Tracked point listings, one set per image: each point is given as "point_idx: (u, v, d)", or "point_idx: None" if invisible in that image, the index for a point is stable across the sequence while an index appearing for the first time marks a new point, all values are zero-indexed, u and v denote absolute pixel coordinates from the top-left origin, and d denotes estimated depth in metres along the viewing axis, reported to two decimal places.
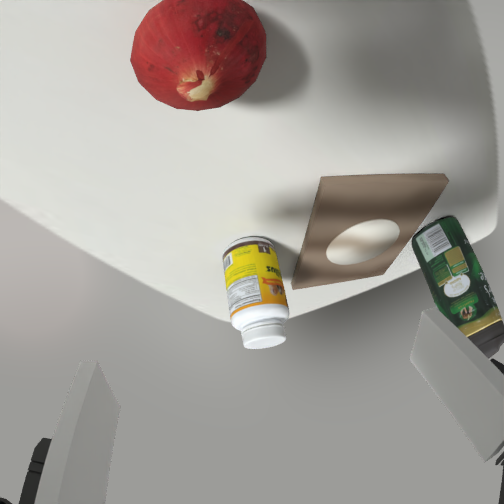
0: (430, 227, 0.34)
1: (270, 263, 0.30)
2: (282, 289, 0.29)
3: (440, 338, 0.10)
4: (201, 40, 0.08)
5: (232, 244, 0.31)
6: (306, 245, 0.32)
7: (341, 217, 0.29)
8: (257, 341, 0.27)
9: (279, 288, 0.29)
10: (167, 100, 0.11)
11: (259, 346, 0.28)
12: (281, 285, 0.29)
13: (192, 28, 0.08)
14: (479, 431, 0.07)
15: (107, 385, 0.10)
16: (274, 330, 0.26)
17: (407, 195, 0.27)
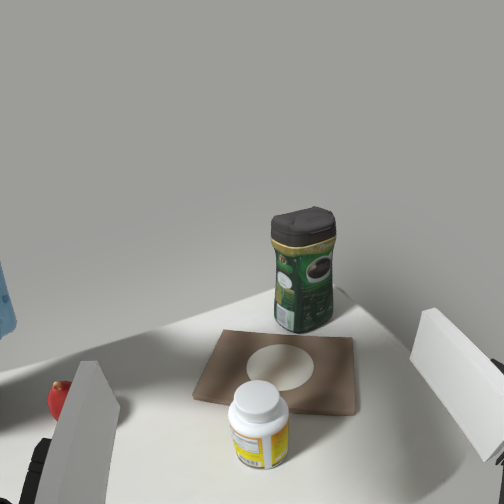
0: (281, 325, 0.49)
1: None
2: None
3: (440, 338, 0.10)
4: (53, 385, 0.29)
5: None
6: None
7: (233, 385, 0.37)
8: (242, 400, 0.24)
9: None
10: (62, 402, 0.27)
11: (266, 401, 0.24)
12: None
13: (51, 388, 0.29)
14: (479, 431, 0.07)
15: (107, 385, 0.10)
16: None
17: (227, 350, 0.44)
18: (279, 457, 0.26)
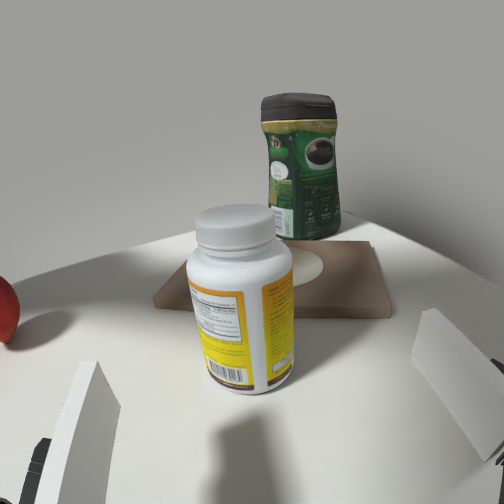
0: (278, 234, 0.39)
1: None
2: None
3: (439, 338, 0.10)
4: None
5: (210, 375, 0.18)
6: None
7: None
8: (208, 218, 0.15)
9: None
10: None
11: (249, 215, 0.15)
12: None
13: None
14: (479, 431, 0.07)
15: (107, 385, 0.10)
16: None
17: None
18: (280, 365, 0.16)
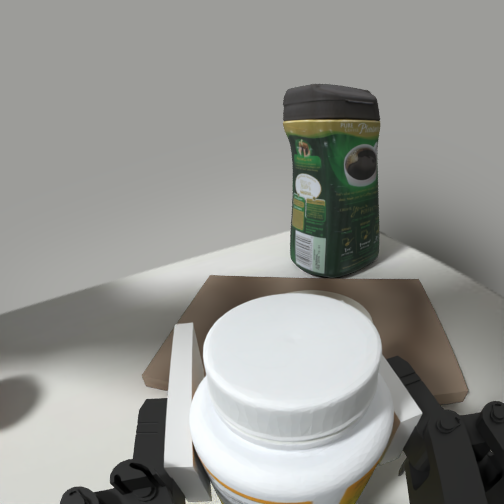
0: (303, 267, 0.31)
1: None
2: None
3: None
4: None
5: None
6: None
7: None
8: (235, 356, 0.06)
9: None
10: None
11: (334, 353, 0.06)
12: None
13: None
14: None
15: (197, 347, 0.12)
16: None
17: (214, 301, 0.26)
18: None
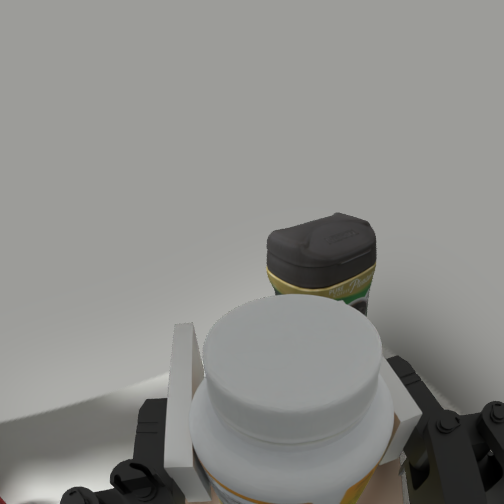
0: None
1: None
2: None
3: None
4: None
5: None
6: None
7: None
8: (235, 358, 0.06)
9: None
10: None
11: (334, 355, 0.06)
12: None
13: None
14: None
15: (197, 347, 0.12)
16: None
17: None
18: None
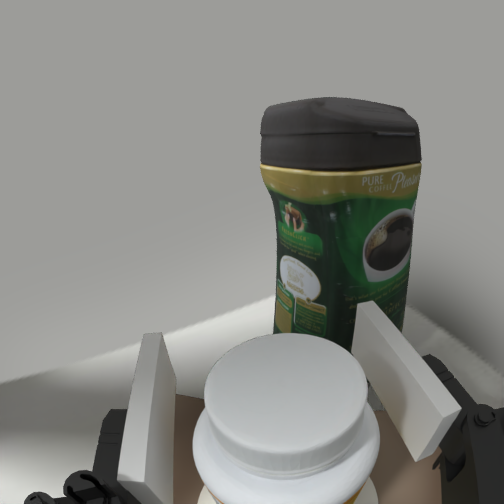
0: None
1: None
2: None
3: (371, 331, 0.11)
4: None
5: None
6: None
7: None
8: (233, 401, 0.06)
9: None
10: None
11: (323, 399, 0.06)
12: None
13: None
14: (409, 428, 0.08)
15: (168, 357, 0.12)
16: None
17: None
18: None
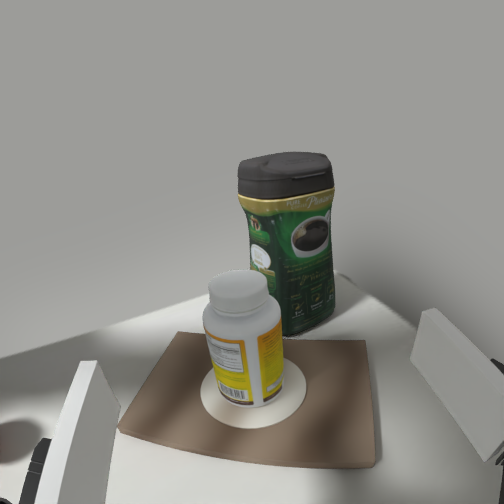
0: None
1: None
2: None
3: (439, 338, 0.10)
4: None
5: None
6: (222, 453, 0.19)
7: (177, 415, 0.22)
8: (218, 286, 0.20)
9: None
10: None
11: (248, 285, 0.20)
12: None
13: None
14: (479, 431, 0.07)
15: (107, 385, 0.10)
16: None
17: (178, 360, 0.29)
18: (272, 386, 0.22)
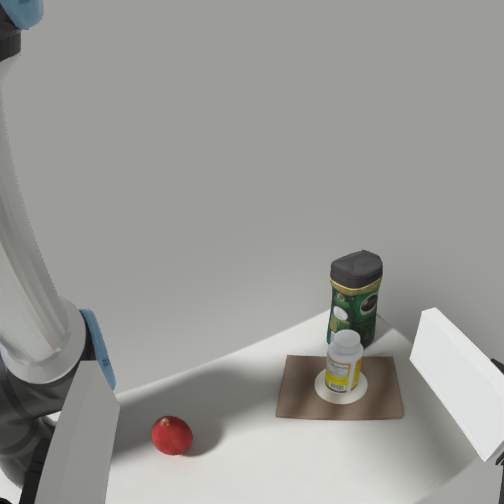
0: None
1: None
2: None
3: (439, 338, 0.10)
4: (157, 421, 0.36)
5: None
6: (335, 416, 0.41)
7: (307, 402, 0.44)
8: (340, 340, 0.42)
9: None
10: (171, 435, 0.34)
11: (353, 339, 0.42)
12: None
13: (155, 423, 0.36)
14: (479, 431, 0.07)
15: (107, 385, 0.10)
16: None
17: (295, 373, 0.51)
18: (355, 382, 0.44)
